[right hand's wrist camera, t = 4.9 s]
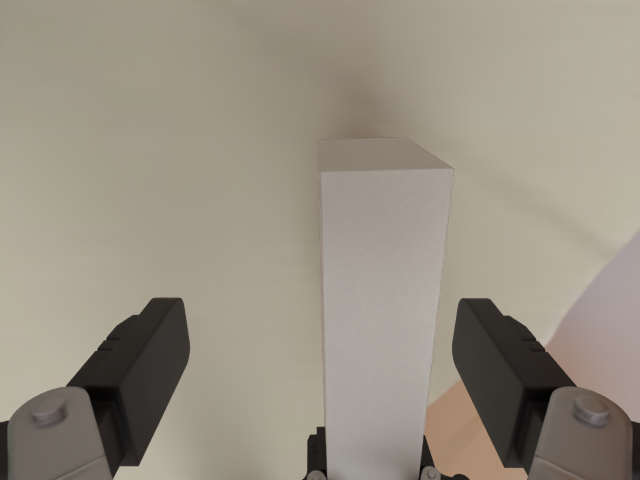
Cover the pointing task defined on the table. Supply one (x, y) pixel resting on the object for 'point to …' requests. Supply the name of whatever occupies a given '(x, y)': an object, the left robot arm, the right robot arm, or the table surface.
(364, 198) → the box
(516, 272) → the table surface
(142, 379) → the right robot arm
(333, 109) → the table surface
